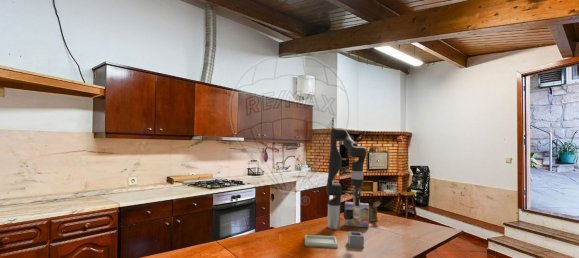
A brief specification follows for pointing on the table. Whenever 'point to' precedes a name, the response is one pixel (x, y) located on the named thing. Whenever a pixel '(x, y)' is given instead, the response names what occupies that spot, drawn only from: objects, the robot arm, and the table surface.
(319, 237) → the sage tray
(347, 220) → the cake pan box
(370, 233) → the table surface
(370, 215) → the wooden mug
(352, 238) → the grey cup
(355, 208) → the birch peg
